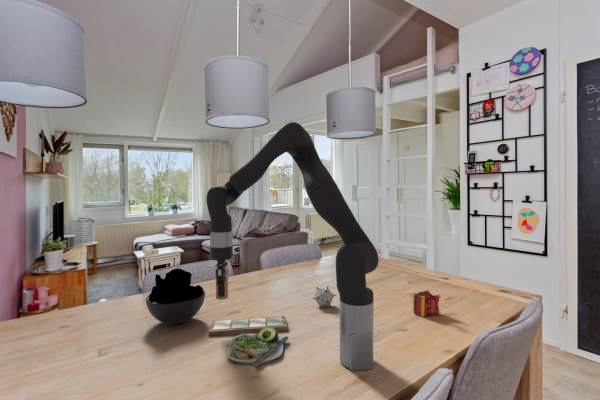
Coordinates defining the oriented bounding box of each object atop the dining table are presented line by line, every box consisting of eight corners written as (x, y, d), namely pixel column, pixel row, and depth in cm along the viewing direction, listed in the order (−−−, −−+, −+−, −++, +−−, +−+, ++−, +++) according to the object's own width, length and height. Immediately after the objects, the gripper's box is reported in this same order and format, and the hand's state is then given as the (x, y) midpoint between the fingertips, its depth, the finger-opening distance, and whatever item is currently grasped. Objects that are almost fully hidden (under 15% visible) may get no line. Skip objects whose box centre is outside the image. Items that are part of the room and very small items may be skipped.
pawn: (228, 299, 111) (227, 267, 110) (214, 300, 110) (214, 268, 110) (229, 295, 115) (228, 264, 115) (216, 295, 115) (215, 265, 114)
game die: (327, 316, 133) (333, 302, 127) (308, 308, 134) (313, 293, 128) (333, 300, 140) (339, 285, 134) (315, 292, 141) (320, 277, 135)
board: (287, 330, 111) (287, 325, 111) (208, 336, 108) (208, 331, 108) (285, 320, 120) (285, 315, 120) (212, 324, 117) (212, 320, 117)
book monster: (429, 308, 131) (450, 322, 119) (409, 311, 129) (428, 325, 117) (430, 282, 130) (451, 293, 118) (409, 284, 128) (428, 296, 116)
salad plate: (285, 371, 87) (285, 354, 87) (218, 371, 88) (218, 354, 87) (289, 338, 107) (288, 324, 107) (234, 338, 107) (234, 324, 107)
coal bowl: (203, 308, 132) (202, 262, 132) (208, 328, 114) (207, 274, 113) (148, 316, 125) (147, 267, 124) (144, 338, 107) (142, 281, 106)
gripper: (231, 248, 105) (231, 301, 106) (234, 240, 119) (234, 287, 120) (207, 248, 104) (207, 302, 105) (212, 241, 118) (213, 288, 119)
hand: (222, 294), depth 113 cm, fingers closed on pawn, 4 cm apart
